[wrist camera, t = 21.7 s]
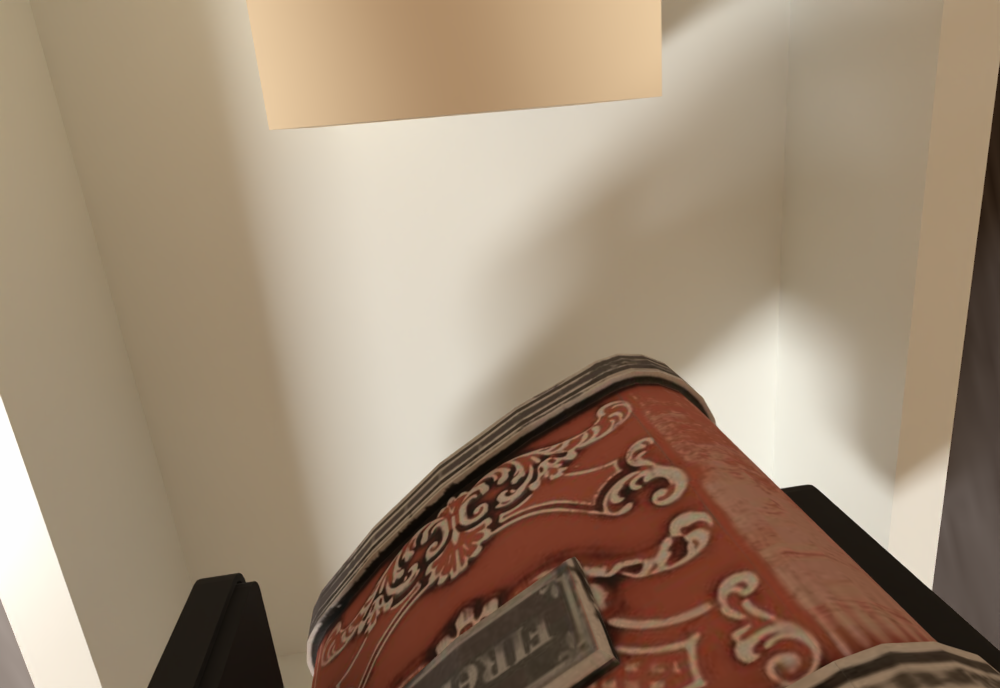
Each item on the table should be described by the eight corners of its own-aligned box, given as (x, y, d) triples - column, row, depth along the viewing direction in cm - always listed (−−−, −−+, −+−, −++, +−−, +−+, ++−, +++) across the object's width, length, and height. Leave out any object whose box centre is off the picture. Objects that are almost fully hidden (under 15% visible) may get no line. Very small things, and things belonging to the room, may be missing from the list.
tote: (832, -324, 13) (1082, -587, 8) (787, 581, 19) (913, 733, 14) (-94, -288, 11) (-457, -586, 6) (191, 681, 18) (112, 887, 13)
